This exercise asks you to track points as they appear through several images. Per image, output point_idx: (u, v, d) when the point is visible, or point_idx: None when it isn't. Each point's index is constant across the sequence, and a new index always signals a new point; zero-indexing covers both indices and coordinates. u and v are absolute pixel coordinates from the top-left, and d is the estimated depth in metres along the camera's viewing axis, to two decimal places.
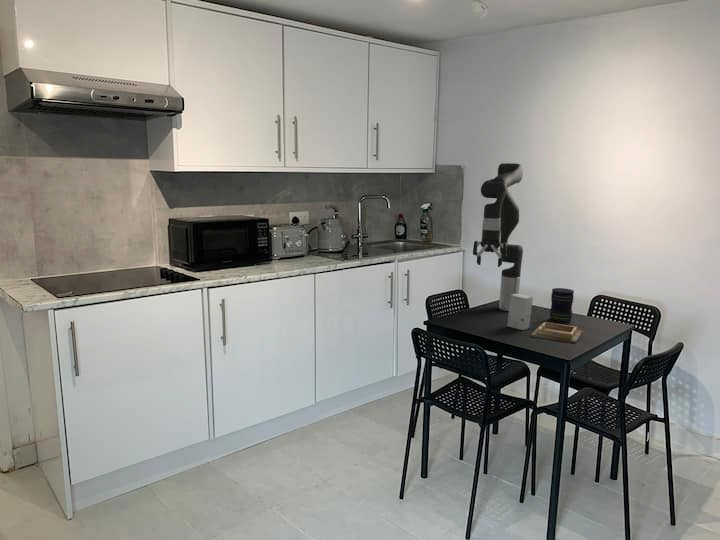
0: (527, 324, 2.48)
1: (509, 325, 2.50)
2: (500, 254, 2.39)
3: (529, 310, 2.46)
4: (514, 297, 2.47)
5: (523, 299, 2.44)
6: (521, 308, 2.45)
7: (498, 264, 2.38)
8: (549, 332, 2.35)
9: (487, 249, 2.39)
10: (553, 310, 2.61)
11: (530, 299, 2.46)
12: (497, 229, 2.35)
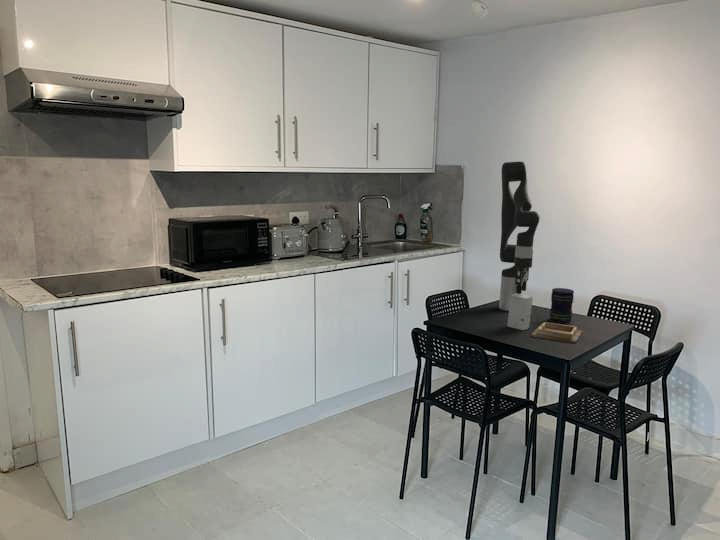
0: (527, 324, 2.48)
1: (509, 325, 2.50)
2: None
3: (529, 310, 2.46)
4: (514, 297, 2.47)
5: (523, 299, 2.44)
6: (521, 308, 2.45)
7: (525, 288, 2.50)
8: (549, 332, 2.35)
9: None
10: (553, 310, 2.61)
11: (530, 299, 2.46)
12: None
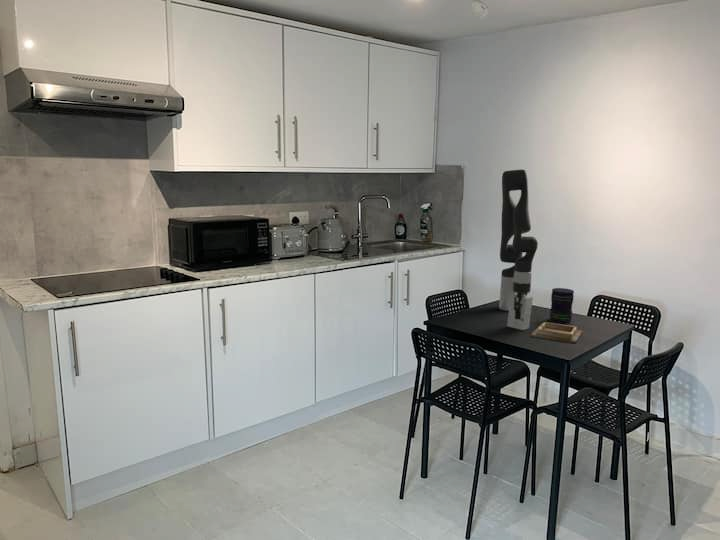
0: (527, 324, 2.48)
1: (509, 325, 2.50)
2: None
3: (529, 310, 2.46)
4: (514, 297, 2.47)
5: (523, 299, 2.44)
6: None
7: None
8: (549, 332, 2.35)
9: None
10: (553, 310, 2.61)
11: (530, 299, 2.46)
12: None
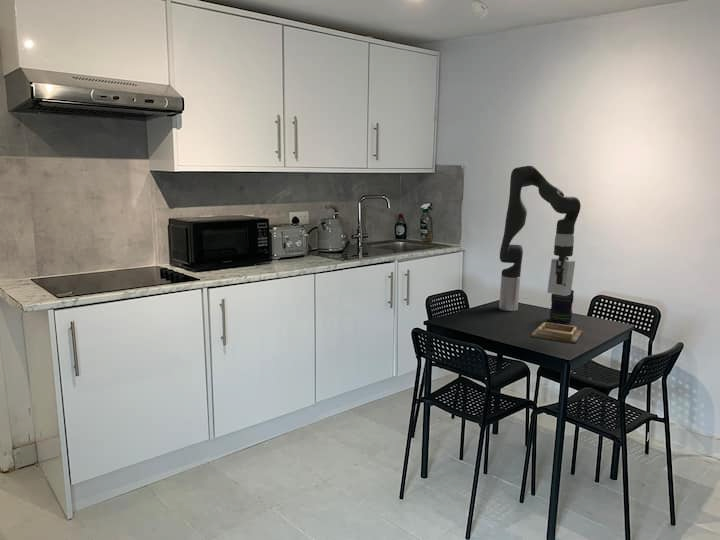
0: (569, 290, 2.34)
1: (549, 291, 2.37)
2: None
3: (571, 275, 2.33)
4: (555, 261, 2.34)
5: (565, 263, 2.31)
6: None
7: None
8: (549, 332, 2.35)
9: None
10: (553, 310, 2.61)
11: (572, 263, 2.32)
12: None
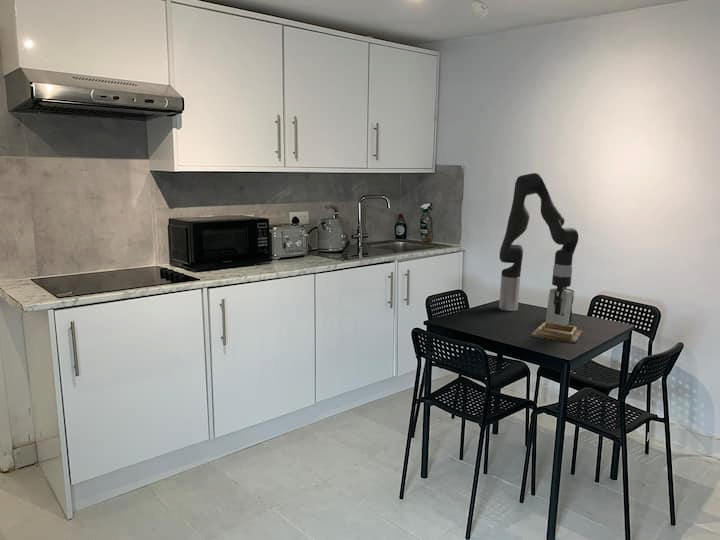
0: (567, 319, 2.37)
1: (548, 320, 2.40)
2: None
3: (569, 305, 2.36)
4: (553, 291, 2.36)
5: (563, 293, 2.33)
6: (561, 303, 2.34)
7: None
8: (549, 332, 2.35)
9: None
10: None
11: (570, 293, 2.35)
12: None
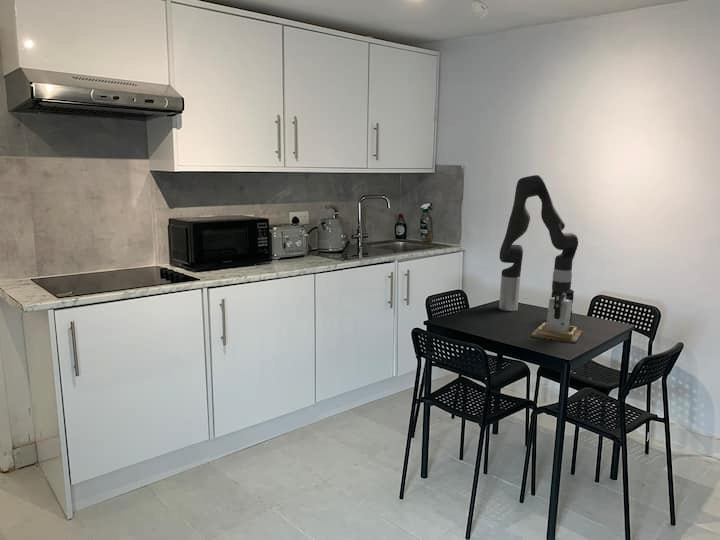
0: (567, 328, 2.38)
1: None
2: None
3: (569, 314, 2.37)
4: (553, 301, 2.37)
5: (564, 303, 2.34)
6: (561, 312, 2.36)
7: None
8: (549, 332, 2.35)
9: None
10: None
11: (570, 302, 2.36)
12: None
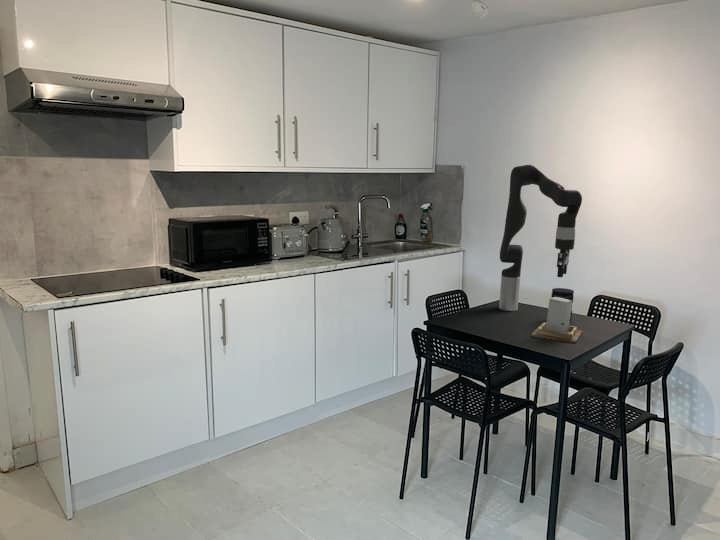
0: (567, 328, 2.38)
1: None
2: None
3: (569, 314, 2.37)
4: (553, 301, 2.37)
5: (564, 303, 2.34)
6: (561, 312, 2.36)
7: (566, 271, 2.39)
8: (549, 332, 2.35)
9: None
10: None
11: (570, 302, 2.36)
12: None
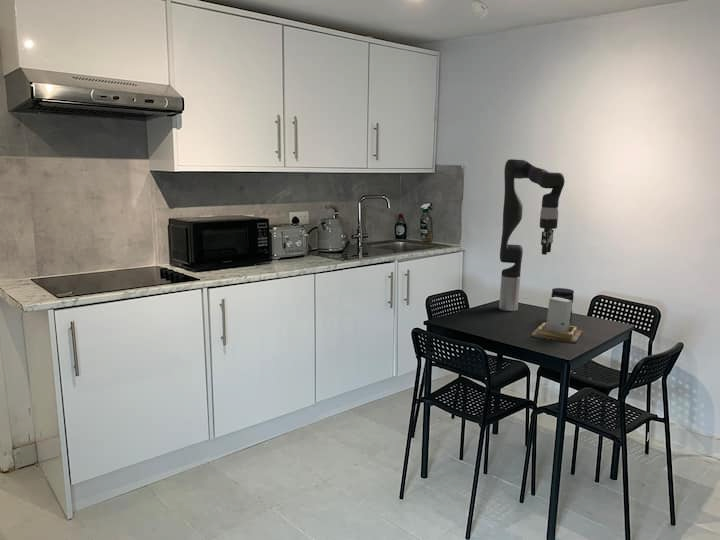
0: (567, 328, 2.38)
1: None
2: None
3: (569, 314, 2.37)
4: (553, 301, 2.37)
5: (564, 303, 2.34)
6: (561, 312, 2.36)
7: (550, 250, 2.54)
8: (549, 332, 2.35)
9: (549, 237, 2.49)
10: None
11: (570, 302, 2.36)
12: None
